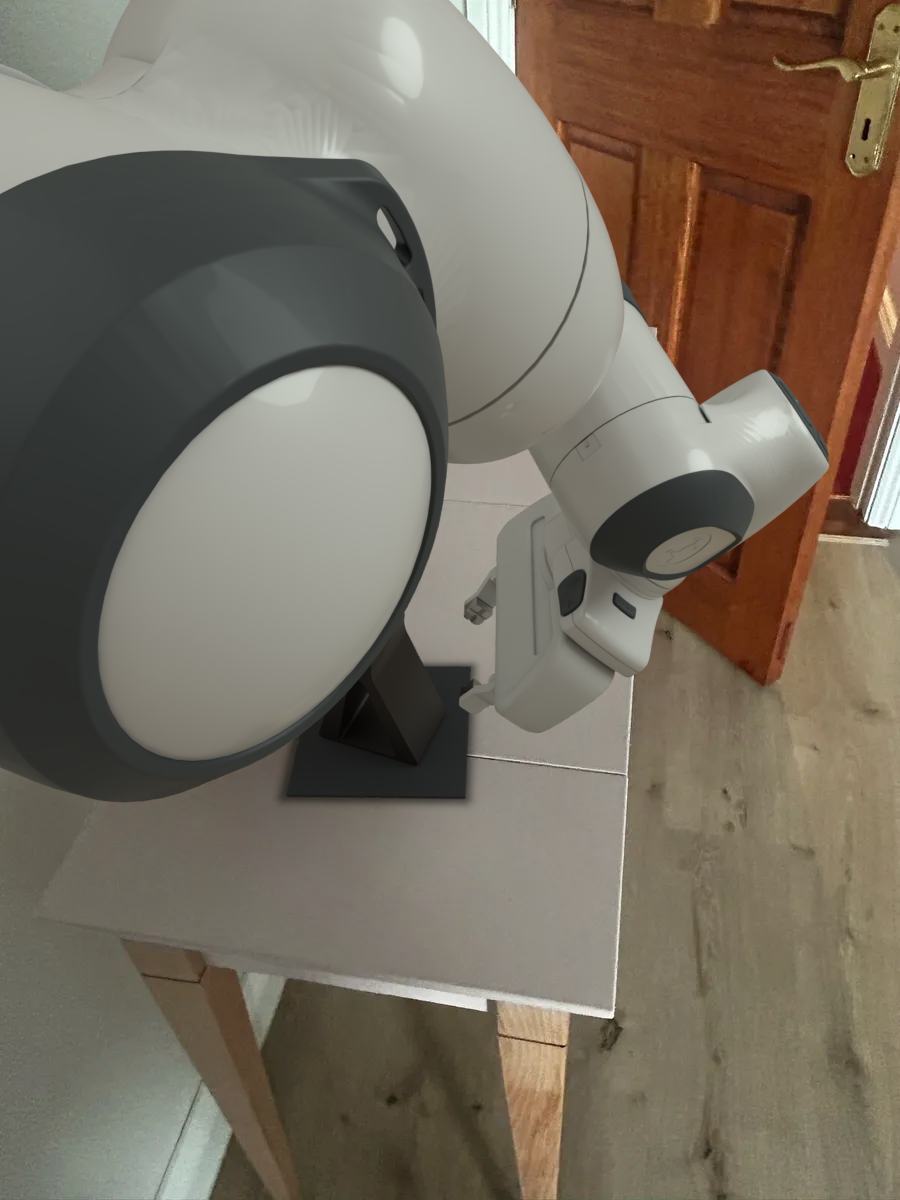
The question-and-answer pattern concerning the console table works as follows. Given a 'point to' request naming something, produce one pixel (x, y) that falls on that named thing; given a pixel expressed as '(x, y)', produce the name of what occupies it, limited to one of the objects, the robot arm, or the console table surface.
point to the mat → (372, 775)
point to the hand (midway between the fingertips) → (467, 656)
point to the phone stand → (389, 705)
